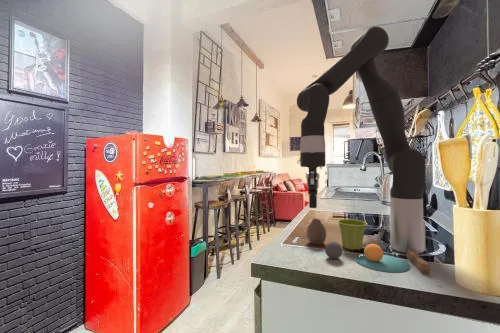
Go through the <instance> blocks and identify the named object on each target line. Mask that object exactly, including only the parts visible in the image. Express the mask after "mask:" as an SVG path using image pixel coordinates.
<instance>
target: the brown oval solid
mask: <svg viewBox="0 0 500 333" xmlns="http://www.w3.org/2000/svg"><path fill="white" fill-rule="evenodd" d="M326 238H327V229H326V227H325V225H324V224H323V223H322V222H321V220H320V218H312V221H311V222H310V223H309V225H308V226H307V229H306V239H307V240H308V242H309V243H310V244H311V245H315V246H321V245H323V244H324V243H325V241H326Z"/></svg>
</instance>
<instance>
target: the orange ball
mask: <svg viewBox="0 0 500 333" xmlns="http://www.w3.org/2000/svg"><path fill="white" fill-rule="evenodd" d="M363 254H365V257H366V258H367V259H368V260H369V261H372V262H378V261H380V260H381V259H382V258H383V254H384V250H383V249H382V247H380V246H379V245H378V244H375V243H370V244H367V245H366V246H365V247H364V249H363Z"/></svg>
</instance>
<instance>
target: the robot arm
mask: <svg viewBox="0 0 500 333" xmlns="http://www.w3.org/2000/svg"><path fill="white" fill-rule="evenodd" d="M389 41H390V39H389V35H388V33H387V32H386V30H385V29H384V28H382V27H380V26H372V27H369V28H368V29H367V30H365V31H364V32H362V33H361V35H360V36H358V37H357V38H356V39H355V40H354V41H353V43H352V44H351V46H350V50H349V51H348V52H346V54H345V55H343V56H342V57H341V58H340V59H338V60H337V61H336V62H335V63H333V64H332V65H331V66H330V67H328V68H327V69H326V71H324V72H323V73H322V74H321V75H320V76H319V77H318V78H317V79H316V80H314V81H313V82H311V83H310V84H309V85H307V86H306V87H305V88H303V89H302V90H301V91H300V92H299V93H298V95H297V97H296V105H297V107H298V109H299V110H300V111H302V112H305V113H306V112H307V114H306V115H305V117H304V118H303V119H302V120H301V123H300V144H299V145H300V147H299V148H300V150H299V151H300V154H299V156H300V161H299V162H300V163H299V164H300V167H301V168H308V172H306V173H305V178H306V188H307V189H308V191H307V194H308V199H309V200H308V203H309V204H308V207H309V208H310V209H316V208H317V206H318V204H317V203H318V202H317V201H318V200H317V199H318V197H317V196H318V194H319V193H318V191H319V190H318V188H319V187H320V185H319V184H320V183H319V182H320V181H319V179H320V172H318V171H317V170H318V168H324V167H325V166H326V141H325V140H326V139H325V122H326V118H327V113H328V109H329V104H330V96H331V95H333V94H335V93H336V92H337V91H338V90H339V89H340V88H342V86H344V85H345V84H346V82H348V80H350V79H351V77H352V76H353V75H355V73H356V72H358V75H359V77H360V79H361V82H362V85H363V88H364V91H365V93H366V96H367V99H368V103H369V106H370V110H371V112H372V116H373V118H374V121H375V124H376V126H377V129H378V132H379V134H380V136H381V140H382V143H383V146H384V152H385V158H386V163H387V164H386V165H387V167H388V169H389V171H390V172H391V173H392V185H391V188H390V191H389V202H390V204H389V207H390V210H389V211H390V213H389V214H390V215H389V216H390V222H389V224H390V226H389V227H390V229H389V230H390V234H389V235H390V249H392V250H393V251H395V252H399V253H402V254H403V253H404V254H407V252H406V249H408V250H413V251H414V252H416V253H417V254H418V255H419V254H423V253H424V252H425V251H426V222H425V220H424V192H425V188H426V179H427V178H426V177H427V176H426V175H427V174H426V173H427V164H426V163H427V162H426V158H425V156H424V155H423V154H422V152H420V151H419V150H417V149H414V148H411V147H410V144H409V140H408V139H407V135H406V129H405V127H406V126H405V110H404V106H403V102H402V99H401V96H400V93H399V91H398V88H397V87H396V86H395V85H394V84H393V83H392V82H390V81H388V79H386V78H385V77H383V76H382V74H380V72H379V71H378V68H377V66H376V63H375V59H376V58H377V57H379V56H380V55H382V53H383V52H384V51H385V50H386V49H387V48H388V46H389Z"/></svg>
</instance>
